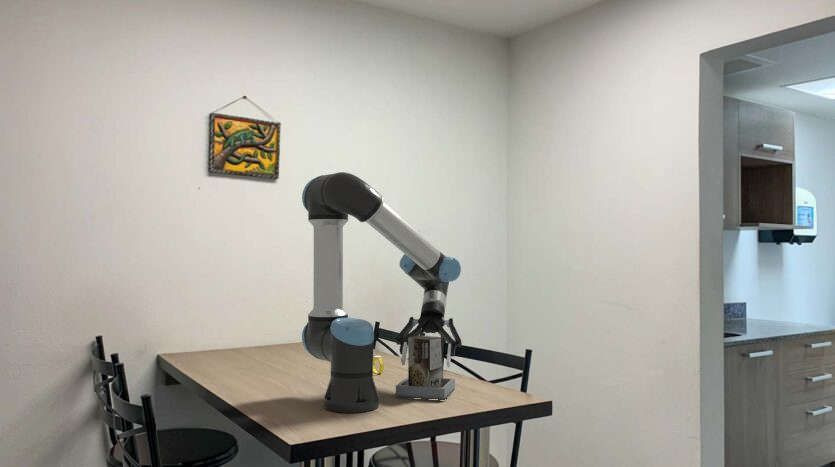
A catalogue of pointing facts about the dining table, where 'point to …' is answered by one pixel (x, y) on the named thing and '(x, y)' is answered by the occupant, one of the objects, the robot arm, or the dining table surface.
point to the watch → (380, 364)
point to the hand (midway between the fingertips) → (425, 363)
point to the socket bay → (425, 390)
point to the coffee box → (425, 361)
